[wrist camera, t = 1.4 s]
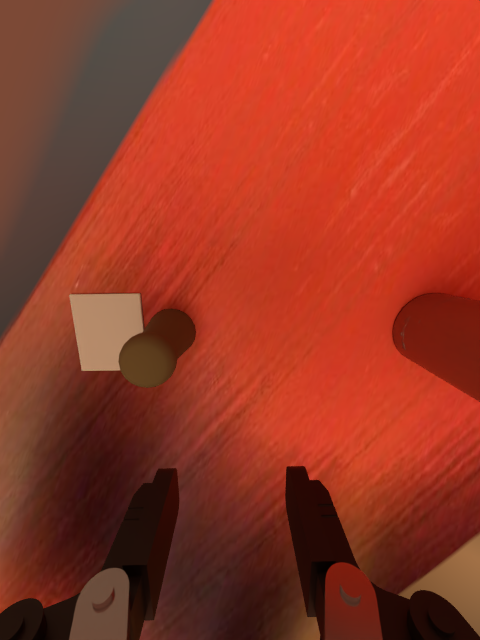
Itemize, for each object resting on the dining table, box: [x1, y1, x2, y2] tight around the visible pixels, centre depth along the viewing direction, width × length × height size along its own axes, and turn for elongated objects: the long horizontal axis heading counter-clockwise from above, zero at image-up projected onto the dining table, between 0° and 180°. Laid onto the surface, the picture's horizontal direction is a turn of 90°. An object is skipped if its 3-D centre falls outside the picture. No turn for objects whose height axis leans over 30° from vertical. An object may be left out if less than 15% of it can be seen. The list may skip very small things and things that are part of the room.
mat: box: [69, 293, 144, 371], centre depth 33 cm, size 8×10×1 cm
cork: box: [118, 309, 196, 388], centre depth 28 cm, size 6×6×11 cm
